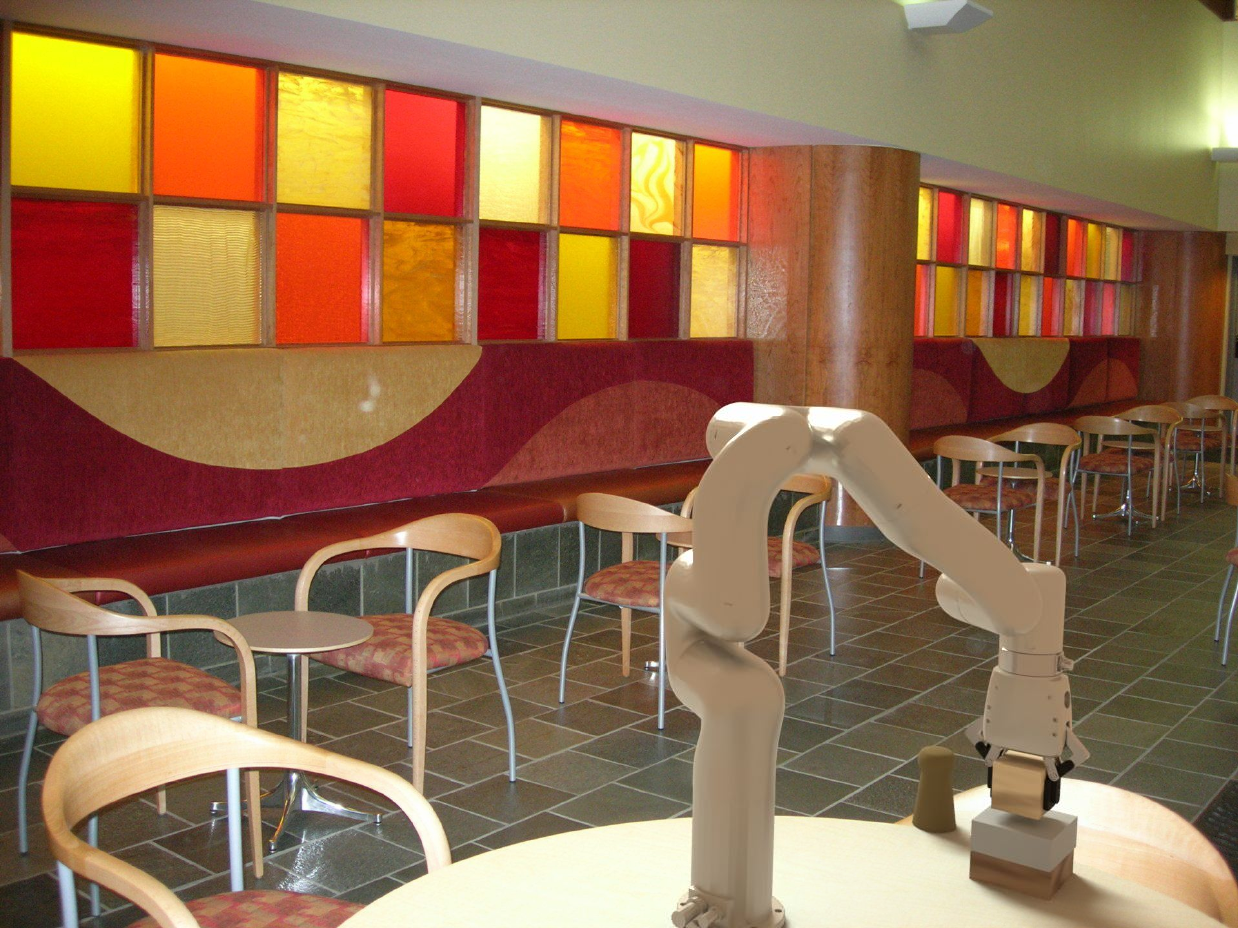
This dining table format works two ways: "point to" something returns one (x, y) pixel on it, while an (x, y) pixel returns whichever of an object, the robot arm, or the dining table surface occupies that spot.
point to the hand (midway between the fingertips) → (1022, 799)
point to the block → (1019, 784)
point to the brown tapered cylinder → (935, 791)
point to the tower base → (1020, 875)
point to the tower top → (1024, 837)
